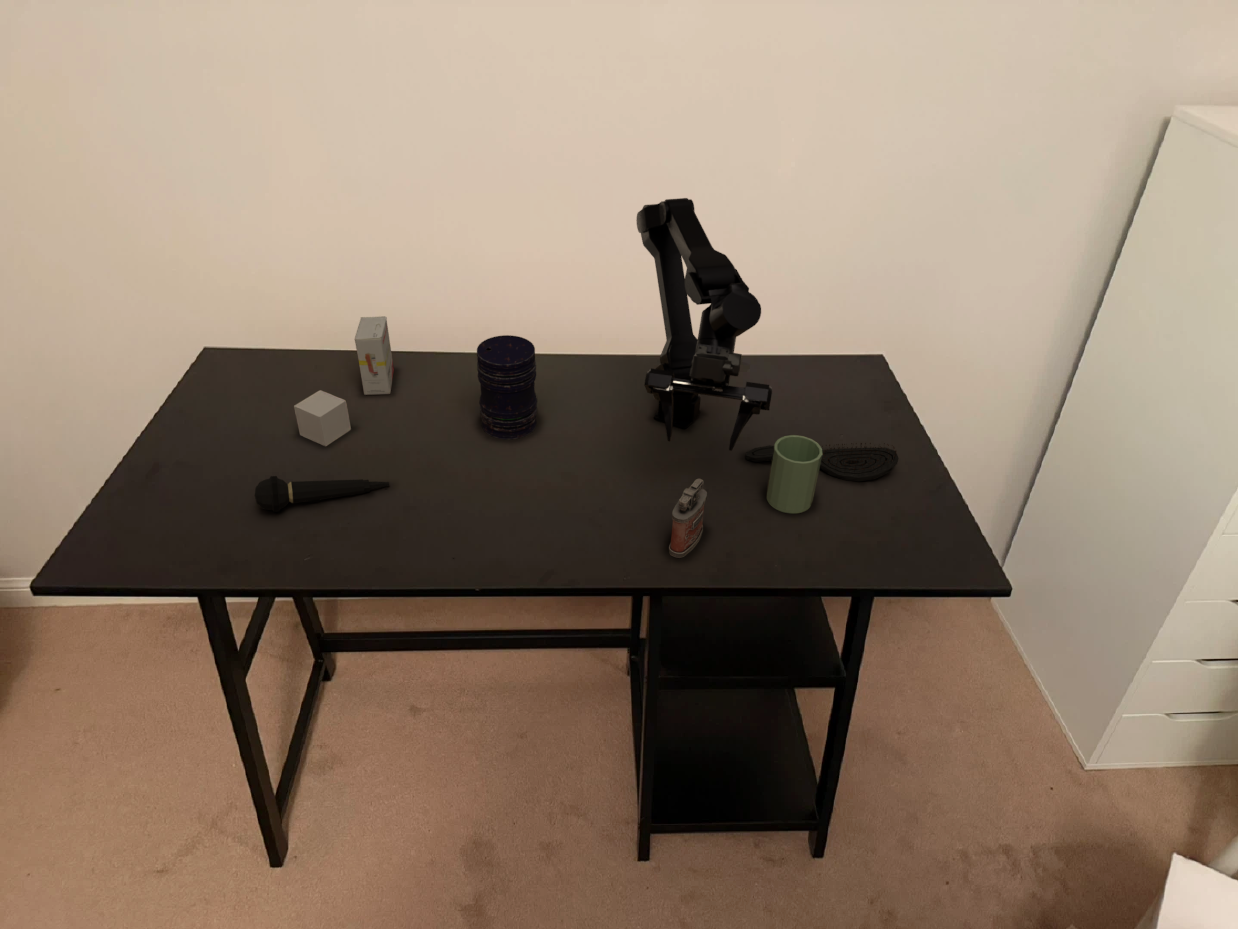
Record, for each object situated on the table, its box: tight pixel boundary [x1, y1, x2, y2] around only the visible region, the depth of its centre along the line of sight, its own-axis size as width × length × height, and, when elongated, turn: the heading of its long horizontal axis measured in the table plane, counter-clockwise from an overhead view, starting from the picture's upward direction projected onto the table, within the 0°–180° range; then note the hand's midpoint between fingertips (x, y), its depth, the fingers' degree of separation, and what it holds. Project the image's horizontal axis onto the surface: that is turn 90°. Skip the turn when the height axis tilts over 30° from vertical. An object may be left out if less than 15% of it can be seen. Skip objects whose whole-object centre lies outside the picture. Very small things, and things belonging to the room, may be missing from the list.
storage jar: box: [476, 334, 538, 440], centre depth 159 cm, size 10×10×15 cm
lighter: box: [668, 478, 708, 559], centre depth 137 cm, size 8×3×10 cm, turn 150°
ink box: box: [354, 315, 395, 396], centre depth 169 cm, size 9×5×12 cm, turn 5°
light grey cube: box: [293, 389, 352, 447], centre depth 158 cm, size 6×6×6 cm
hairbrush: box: [745, 442, 899, 482], centre depth 156 cm, size 8×4×25 cm
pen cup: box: [765, 434, 823, 515], centre depth 146 cm, size 7×7×10 cm
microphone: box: [254, 475, 390, 513], centre depth 144 cm, size 6×6×20 cm
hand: (699, 445), depth 138 cm, fingers open, 9 cm apart
